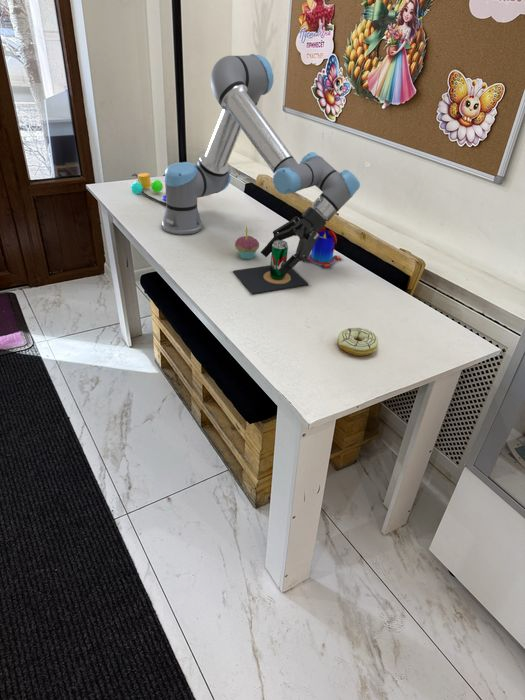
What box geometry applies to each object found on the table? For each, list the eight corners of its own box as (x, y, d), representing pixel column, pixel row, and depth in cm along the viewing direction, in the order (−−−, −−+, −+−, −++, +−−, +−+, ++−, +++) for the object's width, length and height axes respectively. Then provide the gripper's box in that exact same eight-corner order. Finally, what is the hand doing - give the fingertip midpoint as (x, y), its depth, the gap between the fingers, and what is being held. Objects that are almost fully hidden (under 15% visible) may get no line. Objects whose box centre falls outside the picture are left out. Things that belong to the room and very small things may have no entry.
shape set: (133, 188, 235) (130, 172, 230) (208, 182, 239) (207, 166, 235) (131, 211, 211) (128, 193, 207) (214, 204, 216) (213, 187, 212)
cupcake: (255, 263, 175) (257, 230, 168) (231, 259, 177) (232, 226, 170) (260, 253, 182) (262, 221, 175) (237, 249, 183) (238, 217, 176)
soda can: (286, 275, 168) (290, 241, 161) (282, 281, 164) (285, 247, 157) (272, 272, 169) (275, 238, 162) (267, 278, 165) (270, 244, 158)
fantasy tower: (343, 258, 183) (348, 227, 176) (328, 269, 175) (333, 237, 168) (314, 249, 188) (319, 218, 181) (299, 260, 180) (302, 227, 173)
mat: (233, 272, 169) (233, 269, 168) (286, 264, 176) (286, 262, 176) (251, 294, 157) (252, 292, 157) (308, 285, 165) (308, 283, 164)
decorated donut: (340, 332, 143) (343, 321, 141) (378, 341, 141) (381, 329, 138) (333, 352, 135) (335, 340, 133) (373, 361, 132) (376, 350, 130)
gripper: (294, 193, 166) (249, 241, 169) (332, 221, 148) (282, 274, 151) (306, 207, 171) (263, 254, 174) (345, 236, 153) (296, 287, 156)
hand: (271, 263), depth 162 cm, fingers open, 13 cm apart
